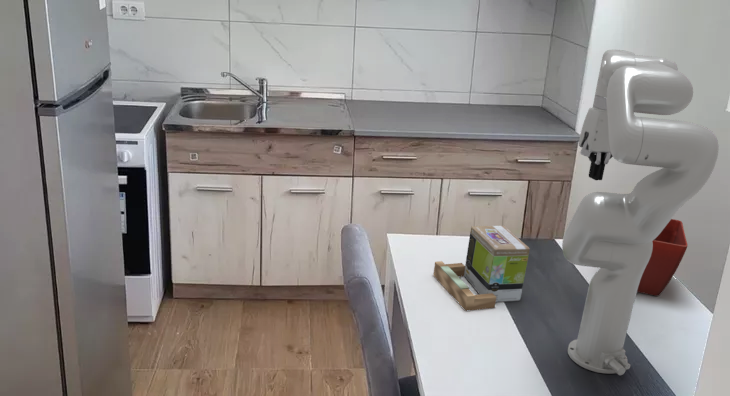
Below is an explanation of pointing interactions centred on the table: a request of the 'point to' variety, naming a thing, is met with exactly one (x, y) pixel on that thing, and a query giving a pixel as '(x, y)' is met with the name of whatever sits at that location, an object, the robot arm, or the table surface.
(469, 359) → the table surface
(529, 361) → the table surface
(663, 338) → the table surface
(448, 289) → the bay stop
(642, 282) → the plant pot
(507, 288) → the tea box
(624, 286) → the robot arm
